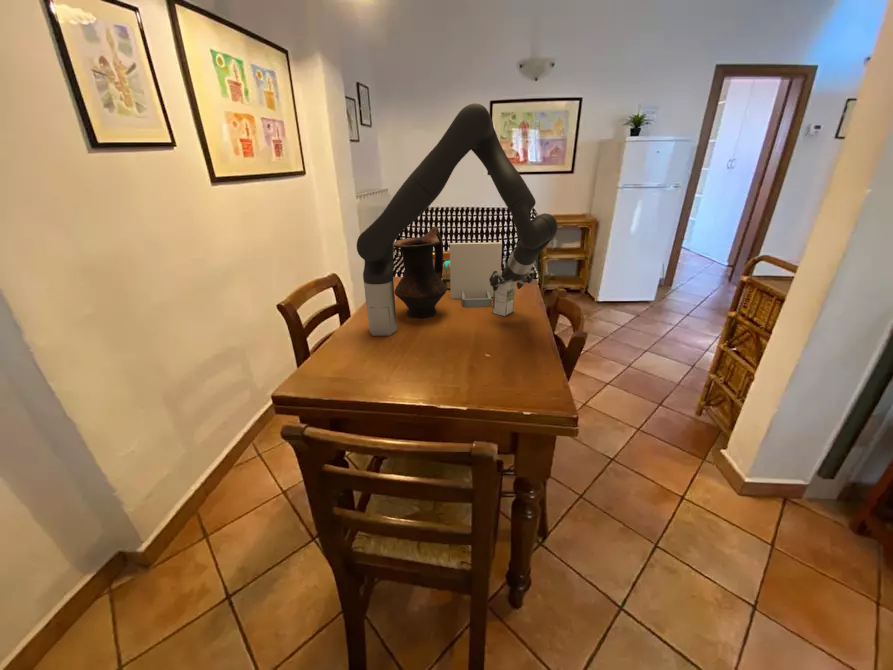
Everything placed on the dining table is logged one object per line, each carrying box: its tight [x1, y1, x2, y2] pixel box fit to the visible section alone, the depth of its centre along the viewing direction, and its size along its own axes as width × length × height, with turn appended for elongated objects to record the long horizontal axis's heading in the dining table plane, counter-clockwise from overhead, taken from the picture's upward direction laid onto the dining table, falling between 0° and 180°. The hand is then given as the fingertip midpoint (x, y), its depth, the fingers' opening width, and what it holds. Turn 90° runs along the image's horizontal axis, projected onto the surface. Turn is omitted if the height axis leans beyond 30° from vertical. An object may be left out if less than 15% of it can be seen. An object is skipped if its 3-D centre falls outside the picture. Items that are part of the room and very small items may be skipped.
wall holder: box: [449, 241, 503, 308], centre depth 143 cm, size 12×20×22 cm, turn 90°
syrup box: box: [491, 279, 516, 317], centre depth 134 cm, size 6×6×14 cm
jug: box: [392, 226, 448, 320], centre depth 130 cm, size 21×18×30 cm
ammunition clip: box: [442, 262, 450, 290], centre depth 159 cm, size 11×2×12 cm, turn 81°
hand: (506, 287), depth 130 cm, fingers open, 8 cm apart
